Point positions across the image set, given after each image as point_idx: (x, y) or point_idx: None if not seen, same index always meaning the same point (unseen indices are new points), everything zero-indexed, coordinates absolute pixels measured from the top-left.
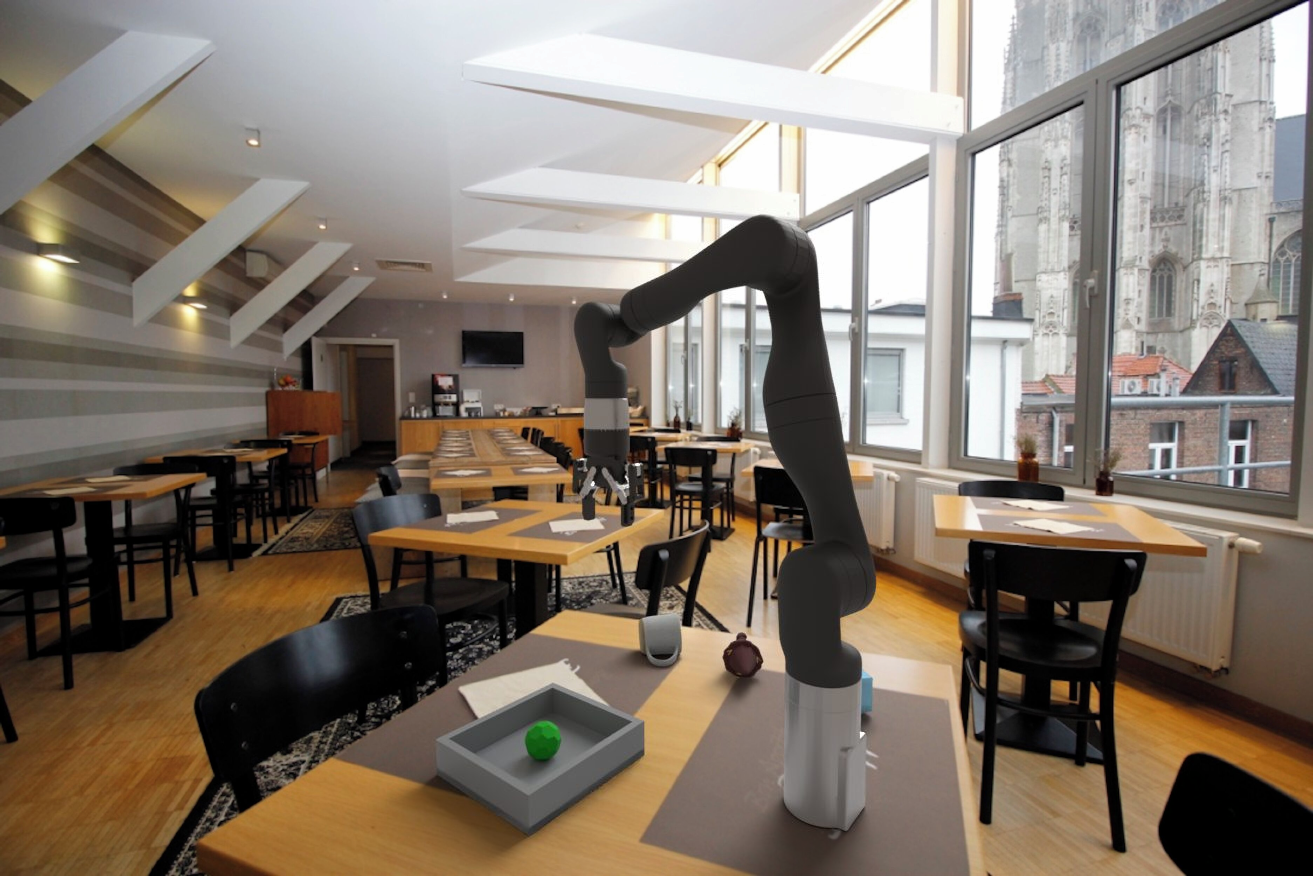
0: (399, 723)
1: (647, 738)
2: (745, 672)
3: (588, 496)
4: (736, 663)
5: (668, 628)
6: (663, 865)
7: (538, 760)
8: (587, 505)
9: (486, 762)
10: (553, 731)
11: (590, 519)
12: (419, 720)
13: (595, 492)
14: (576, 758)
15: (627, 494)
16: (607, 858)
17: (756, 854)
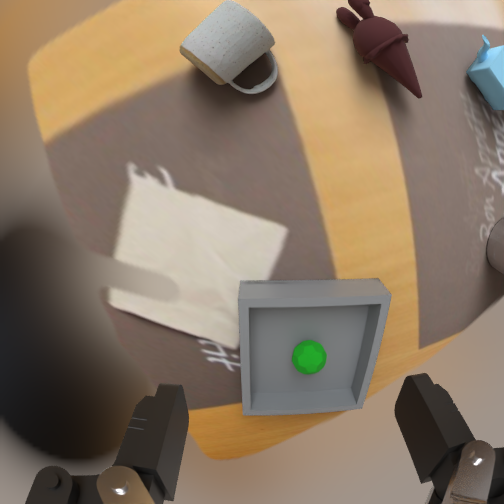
0: (144, 371)
1: (365, 254)
2: (420, 97)
3: (160, 502)
4: (397, 76)
5: (252, 45)
6: (437, 351)
7: None
8: (176, 470)
9: (306, 410)
10: (323, 362)
11: (185, 404)
12: (151, 361)
13: (151, 497)
14: (367, 370)
15: (454, 490)
16: (407, 369)
17: (479, 310)
